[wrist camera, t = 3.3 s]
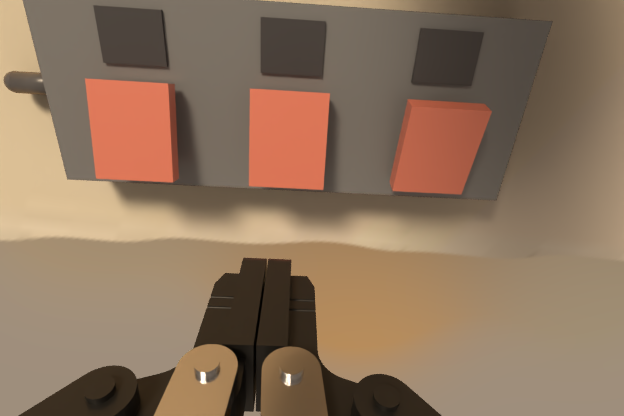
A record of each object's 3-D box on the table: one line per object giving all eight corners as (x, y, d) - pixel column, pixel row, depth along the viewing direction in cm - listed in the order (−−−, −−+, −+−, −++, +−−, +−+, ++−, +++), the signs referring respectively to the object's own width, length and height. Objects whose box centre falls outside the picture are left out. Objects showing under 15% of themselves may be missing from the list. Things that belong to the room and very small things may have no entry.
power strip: (517, 20, 22) (554, 21, 19) (473, 178, 27) (497, 201, 23) (-6, -17, 21) (-65, -23, 17) (41, 156, 25) (2, 177, 22)
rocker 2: (328, 93, 20) (329, 93, 19) (322, 185, 21) (323, 190, 20) (252, 88, 20) (249, 88, 19) (251, 182, 21) (248, 186, 20)
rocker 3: (484, 103, 19) (491, 111, 19) (456, 184, 22) (461, 194, 22) (407, 99, 19) (411, 106, 18) (389, 181, 22) (392, 190, 21)
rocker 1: (174, 84, 19) (168, 83, 19) (178, 178, 21) (173, 182, 20) (95, 79, 19) (84, 78, 18) (105, 174, 21) (96, 178, 20)
